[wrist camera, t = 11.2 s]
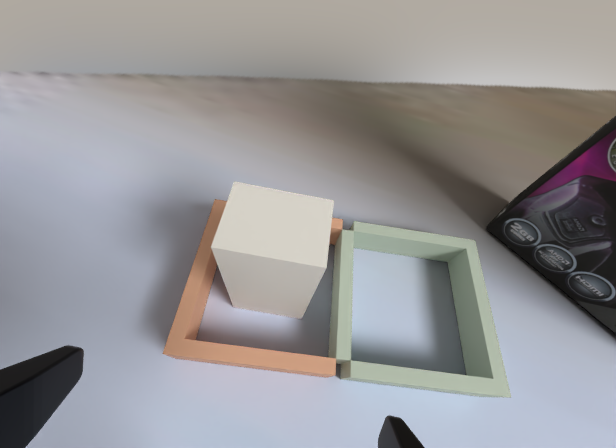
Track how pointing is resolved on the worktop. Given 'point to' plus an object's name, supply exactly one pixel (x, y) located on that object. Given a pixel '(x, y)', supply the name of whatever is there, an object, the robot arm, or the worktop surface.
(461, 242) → the frame
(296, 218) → the cream rectangular block
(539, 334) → the worktop surface
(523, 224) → the graphics card box
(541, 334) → the worktop surface
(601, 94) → the worktop surface
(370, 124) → the worktop surface
